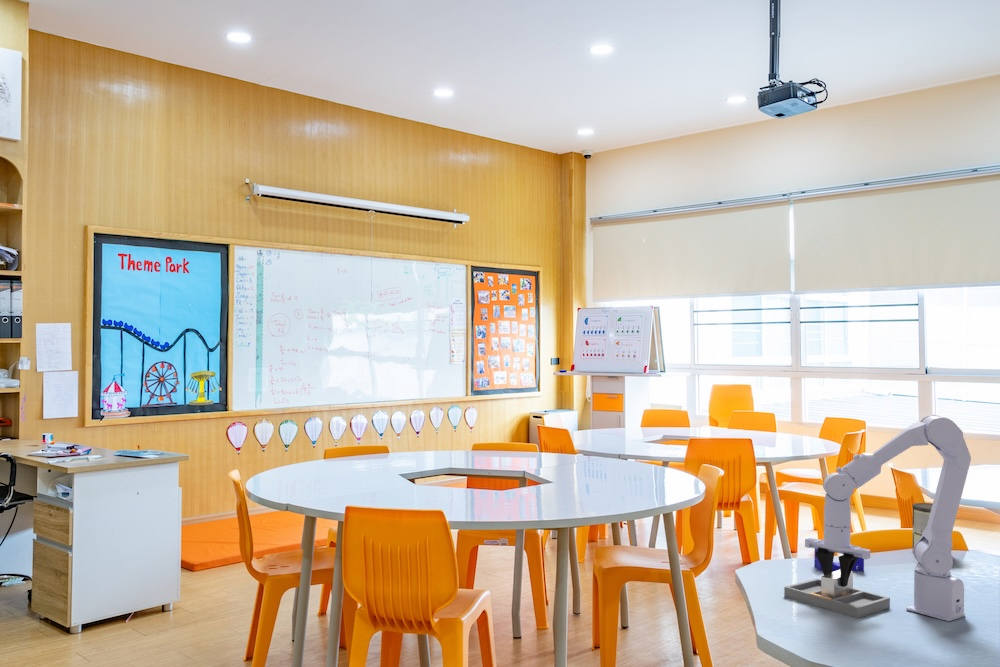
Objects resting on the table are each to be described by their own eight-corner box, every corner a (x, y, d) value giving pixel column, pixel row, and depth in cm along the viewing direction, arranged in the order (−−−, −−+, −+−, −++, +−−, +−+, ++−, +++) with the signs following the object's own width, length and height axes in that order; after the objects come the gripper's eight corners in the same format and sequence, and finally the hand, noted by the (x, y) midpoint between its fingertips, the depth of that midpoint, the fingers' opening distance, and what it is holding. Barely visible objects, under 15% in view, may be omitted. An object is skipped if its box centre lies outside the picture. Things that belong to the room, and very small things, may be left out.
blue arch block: (819, 571, 211) (820, 549, 211) (814, 567, 215) (814, 545, 215) (866, 573, 210) (866, 551, 210) (859, 569, 214) (859, 546, 214)
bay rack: (889, 607, 180) (889, 597, 180) (857, 618, 172) (857, 607, 172) (817, 587, 195) (817, 577, 195) (784, 596, 187) (784, 586, 187)
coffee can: (906, 548, 239) (907, 502, 239) (942, 550, 237) (943, 503, 238) (919, 557, 228) (920, 508, 229) (957, 559, 227) (958, 510, 227)
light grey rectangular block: (852, 590, 186) (852, 571, 186) (833, 599, 179) (834, 579, 179) (840, 588, 188) (840, 569, 188) (821, 596, 182) (821, 576, 182)
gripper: (876, 528, 181) (875, 588, 181) (814, 517, 192) (813, 574, 192) (863, 532, 177) (862, 593, 176) (801, 521, 187) (800, 579, 187)
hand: (836, 584), depth 184 cm, fingers closed on light grey rectangular block, 3 cm apart
